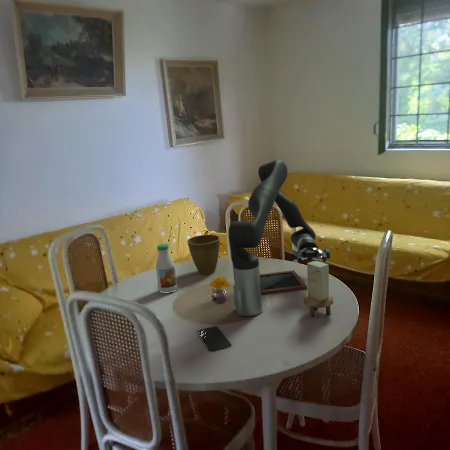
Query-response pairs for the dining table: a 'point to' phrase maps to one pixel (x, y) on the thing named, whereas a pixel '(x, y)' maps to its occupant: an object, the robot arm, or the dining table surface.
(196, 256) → the plant pot
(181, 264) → the dining table surface
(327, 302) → the stool
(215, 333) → the phone
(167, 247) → the milk bottle
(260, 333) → the dining table surface
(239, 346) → the dining table surface
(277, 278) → the picture frame
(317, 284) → the skincare box
